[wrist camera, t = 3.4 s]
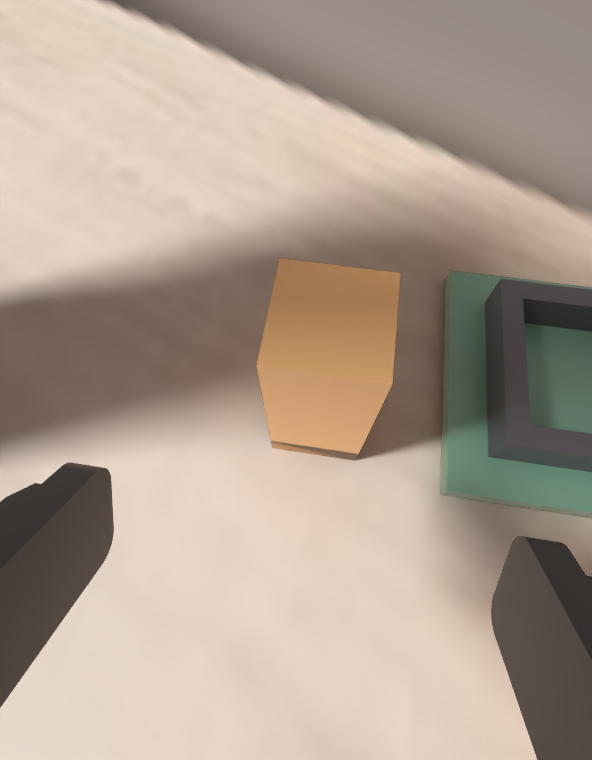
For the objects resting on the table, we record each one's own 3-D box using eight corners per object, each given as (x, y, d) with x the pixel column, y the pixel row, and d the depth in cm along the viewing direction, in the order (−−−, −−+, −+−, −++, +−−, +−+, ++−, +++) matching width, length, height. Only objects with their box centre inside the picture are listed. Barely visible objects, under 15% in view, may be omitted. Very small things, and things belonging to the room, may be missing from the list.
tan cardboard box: (272, 447, 21) (256, 365, 13) (285, 373, 23) (279, 257, 15) (355, 460, 21) (392, 384, 13) (363, 384, 23) (400, 273, 14)
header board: (440, 494, 20) (462, 481, 18) (445, 281, 25) (463, 245, 22) (716, 537, 20) (784, 530, 17) (666, 308, 24) (713, 274, 22)
